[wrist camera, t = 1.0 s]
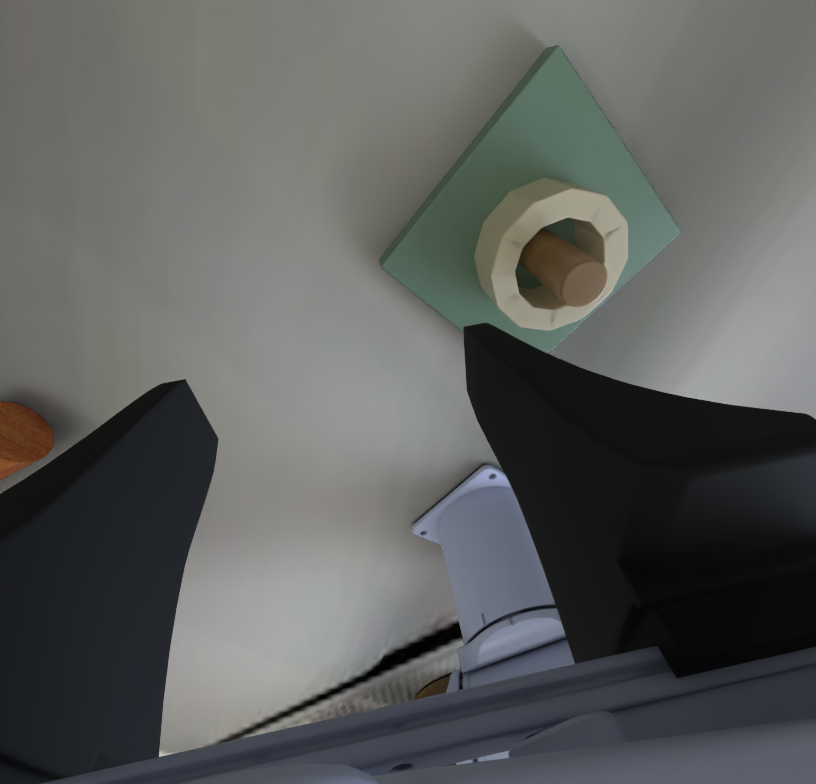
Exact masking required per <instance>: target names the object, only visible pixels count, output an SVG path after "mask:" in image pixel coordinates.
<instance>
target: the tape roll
mask: <svg viewBox="0 0 816 784" xmlns="http://www.w3.org/2000/svg"><path fill="white" fill-rule="evenodd" d="M565 218H570V219H571V220H572V222H573V223H574V230H575V242H576V245H575V247H577V248H579V249H580V250H582V251H584V252H585V253H587V254H588V255H590V256H592V257H593V258H595V259H597V260H598V261H600V262H602V263H603V264H604V266H605V267H606V269H607V273H608V281H607V285H606V287H605V289H604V291H603V292H602V294H601V295H600V296H599V297H598V298H597V299H596V300H595V301H594V302H592V303H590V304H589V305H586V306H583V307H571V306H568V305H567V304H565V303H564V302H563V301H562V300H561V299H560V298H558V297H557V296H556V295H555V294H554V293H553V292H552V291H550V290H549V289H548V288H547V287H546V286H545V285H541V286H538V287H536V288H533V289H530V288H523V287H518V286H517V280H516V275H515V270H516V267H517V264H518V261H519V258H520V255H521V252H522V249H523V247H524V246H525V245H526V244H527V243H528V242H529V241H530V240H531V239H532V237H533V236H534V235H535V234H536V233H537V232H538V231H539V230H540V229H541V228H542V227H544V226H547V225H550V224H552V223H555V222H557V221H560V220H562V219H565ZM627 259H628V223H627V221H626V220H625V218H624V217H623V216H622V214H621V213H620V211H619V210H618V209H617V207H616V206H615V205H614V203H613V202H612V201H611V199H610V198H609V197H608V196H607V195H606V194H603V193H600V192H597V191H594V190H591V189H588V188H586V187H583V186H580V185H577V184H573V183H568V182H563V181H559V180H554V179H550V178H541V179H539V180H536V181H534V182H531V183H529V184H526V185H524V186H522V187H519V188H517V189H514V190H512V191H510V192H509V193H508V194H507V195H506V196H505V197H504V199H503V200H502V201H501V202H500V203H499V204H498V205H497V207H496V208H495V209H494V210H493V211H492V212H491V213H490V215H489V216H488V217H487V218H486V219H485V221H484V223H483V225H482V229H481V232H480V236H479V239H478V243H477V247H476V250H475V254H474V261H475V265H476V269H477V273H478V278H479V282H480V286H481V287H482V289H483V290H484V291H485V292H486V294H487V295H488V296H489V298H490V299H491V300H492V301H493V303H494V304H495V305H496V306H497V308H498V309H499V310H500V311H502V312H503V313H504V314H505V315H506V316H507V317H508V318H510V319H511V320H512V321H513V322H514V323H515V324H516V325H517V326H519V327H522V328H530V329H539V330H547V331H550V330H553V329H556V328H559V327H561V326H564V325H567V324H569V323H572V322H575V321H578V320H580V319H582V318H584V317H585V316H586V315H587V314H589V313H590V312H591V311H592V310H593V309H594V308H595V307H596V306H597V305H598V304H599V303H601V302H602V301H603V300H604V299H605V298H606V297H607V296H608V295H609V294H610V293H611V292H612V290H613V288H614V286H615V284H616V282H617V280H618V278H619V276H620V274H621V272H622V270H623V268H624V266H625V264H626V262H627Z"/></svg>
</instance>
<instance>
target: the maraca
mask: <svg viewBox="0 0 816 784" xmlns="http://www.w3.org/2000/svg"><path fill="white" fill-rule="evenodd" d="M53 440H54V436H53V433H52V431H51V428H50V426H49V425H48V424H47V423H46V421H45V420H44V419H43V418H42V417H41V416H40V415H38V414H37V413H35V412H34V411H32V410H31V409H29V408H27V407H24V406H21V405H18V404H15V403H12V402H0V480H1V479H3V478H5V477H7V476H9V475H11V474H13V473H15V472H16V471H18V470H20V469H22V468H24V467H26V466H28V465H30V464H32V463H34V462H36V461H37V460H39V459H41V458H43V457H45V456H46V455H47V454H48V453H49V451H50V450H51V449H52V448H53Z"/></svg>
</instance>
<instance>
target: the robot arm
mask: <svg viewBox="0 0 816 784" xmlns="http://www.w3.org/2000/svg"><path fill="white" fill-rule="evenodd" d="M463 330H464V348H465V365H466V382H467V392H468V395H469V398H470V401H471V404H472V407H473V409H474V412H475V415H476V418H477V420H478V422H479V424H480V426H481V428H482V430H483V432H484V434H485V436H486V438H487V440H488V442H489V444H490V446H491V448H492V450H493V452H494V454H495V456H496V458H497V460H498V462H499V464H500V465H501V467H502V469H503V471H504V473H503V472H501V471H500V470H498V469H496V468H494V467H493V466H491V465H484V466H482V467H481V468H480V469H479V470H477V471H476V472H475V473H474V474H473V475H471V476H470V477H469V478H468V479H467V480H466V481H464V482H463V483H462V484H461V485H460V486H458V487H457V488H456V489H455V490H454V491H452V492H451V493H450V494H449V495H448V496H447V497H445V498H444V499H443V500H442V501H441V502H439V503H438V504H437V505H436V506H435V507H434V508H432V509H431V510H430V511H429V512H428V513H426V514H425V515H424V516H423V517H422V518H421V519H419V520H418V521H417V522H416V523H415V524H413V525H412V527H411V529H412V533H413V534H415V535H417V536H420V537H422V538H425V539H427V540H429V541H432V542H434V543H437V544H439V545H441V548H442V552H443V557H444V561H445V565H446V569H447V573H448V578H449V582H450V586H451V590H452V594H453V599H454V603H455V607H456V611H457V616H458V620H459V624H460V628H461V632H462V637H463V641H464V645H465V646H463V647H460V648H458V649H457V653H458V658H459V663H460V667H461V668H459V669H456V670H454V671H453V672H452V674H451V677H450V680H449V685H448V688H447V691H446V693H443V694H439V695H434V696H430V697H425V698H421V699H416V700H412V701H407V702H403V703H398V704H394V705H390V706H385V707H381V708H376V709H372V710H367V711H363V712H358V713H354V714H349V715H345V716H340V717H336V718H332V719H327V720H323V721H318V722H314V723H309V724H305V725H300V726H296V727H291V728H287V729H282V730H278V731H274V732H269V733H265V734H260V735H256V736H251V737H247V738H242V739H238V740H233V741H229V742H224V743H220V744H216V745H211V746H207V747H202V748H198V749H193V750H189V751H184V752H180V753H175V754H171V755H166V756H162V757H159V746H160V734H161V722H162V710H163V699H164V691H165V683H166V675H167V667H168V659H169V651H170V645H171V638H172V632H173V626H174V620H175V614H176V607H177V602H178V597H179V592H180V587H181V582H182V577H183V572H184V567H185V563H186V560H187V556H188V552H189V549H190V546H191V543H192V539H193V536H194V533H195V530H196V527H197V524H198V521H199V518H200V514H201V511H202V508H203V505H204V502H205V499H206V496H207V492H208V489H209V486H210V483H211V479H212V476H213V472H214V466H215V460H216V453H217V445H218V437H217V435H216V434H215V432H214V430H213V428H212V426H211V425H210V423H209V421H208V419H207V417H206V416H205V414H204V412H203V410H202V408H201V407H200V405H199V403H198V401H197V399H196V398H195V396H194V394H193V392H192V390H191V389H190V387H189V385H188V383H187V381H186V380H185V379H184V380H179V381H173V382H168V383H163V384H160V385H158V386H156V387H155V388H153V389H151V390H150V391H148V392H147V393H145V394H144V395H142V396H141V397H139V398H138V399H136V400H135V401H134V402H132V403H131V404H130V405H128V406H127V407H126V408H124V409H123V410H121V411H120V412H119V413H117V414H116V415H115V416H113V417H112V418H111V419H109V420H108V421H107V422H105V423H104V424H103V425H101V426H100V427H99V428H97V429H96V430H95V431H93V432H92V433H91V434H89V435H88V436H87V437H85V438H84V439H82V440H81V441H79V442H78V443H77V444H75V445H74V446H72V447H71V448H69V449H68V450H67V451H65V452H64V453H62V454H61V455H60V456H58V457H57V458H55V459H54V460H52V461H51V462H50V463H48V464H47V465H45V466H44V467H42V468H41V469H39V470H38V471H36V472H35V473H33V474H32V475H30V476H28V477H27V478H25V479H24V480H22V481H21V482H19V483H17V484H16V485H14V486H12V487H11V488H9V489H8V490H6V491H4V492H3V493H1V494H0V784H816V419H814V418H813V417H811V416H810V415H807V414H802V413H794V412H785V411H777V410H768V409H760V408H751V407H743V406H734V405H728V404H722V403H716V402H710V401H704V400H699V399H693V398H687V397H683V396H678V395H673V394H668V393H664V392H659V391H655V390H651V389H647V388H643V387H639V386H635V385H632V384H628V383H625V382H621V381H618V380H614V379H611V378H608V377H606V376H603V375H600V374H597V373H594V372H591V371H588V370H585V369H583V368H580V367H577V366H575V365H572V364H570V363H568V362H565V361H563V360H561V359H558V358H556V357H554V356H552V355H550V354H547V353H545V352H543V351H541V350H539V349H537V348H535V347H533V346H531V345H529V344H527V343H525V342H523V341H521V340H520V339H518V338H516V337H514V336H512V335H510V334H508V333H507V332H505V331H503V330H501V329H499V328H497V327H495V326H493V325H491V324H489V323H481V324H475V325H470V326H465V327H463ZM491 474H492V475H491ZM454 763H456V765H450V766H445V765H449V764H454ZM441 766H443V767H441Z"/></svg>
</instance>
